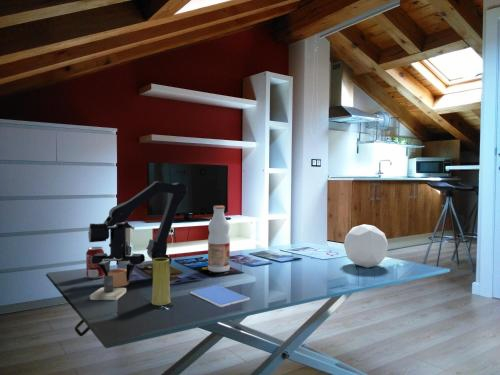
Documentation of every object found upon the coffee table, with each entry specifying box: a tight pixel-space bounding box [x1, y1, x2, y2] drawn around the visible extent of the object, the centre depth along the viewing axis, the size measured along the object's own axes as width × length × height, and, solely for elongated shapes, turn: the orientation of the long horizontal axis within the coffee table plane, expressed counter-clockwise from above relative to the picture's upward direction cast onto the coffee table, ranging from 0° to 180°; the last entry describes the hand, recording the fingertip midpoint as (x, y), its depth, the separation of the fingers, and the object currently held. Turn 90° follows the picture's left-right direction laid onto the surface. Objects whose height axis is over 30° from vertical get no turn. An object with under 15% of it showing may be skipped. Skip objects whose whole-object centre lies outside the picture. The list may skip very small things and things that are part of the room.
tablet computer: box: [189, 285, 251, 308], centre depth 137 cm, size 19×13×1 cm, turn 39°
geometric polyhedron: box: [343, 223, 389, 269], centre depth 183 cm, size 19×20×20 cm
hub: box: [108, 268, 130, 288], centre depth 151 cm, size 7×7×5 cm
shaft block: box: [89, 275, 127, 301], centre depth 137 cm, size 9×9×6 cm
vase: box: [151, 258, 172, 307], centre depth 130 cm, size 6×6×14 cm
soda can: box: [85, 246, 105, 280], centre depth 161 cm, size 7×7×12 cm
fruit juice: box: [207, 205, 231, 273], centre depth 174 cm, size 9×9×28 cm
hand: (118, 281), depth 151 cm, fingers closed on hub, 7 cm apart
